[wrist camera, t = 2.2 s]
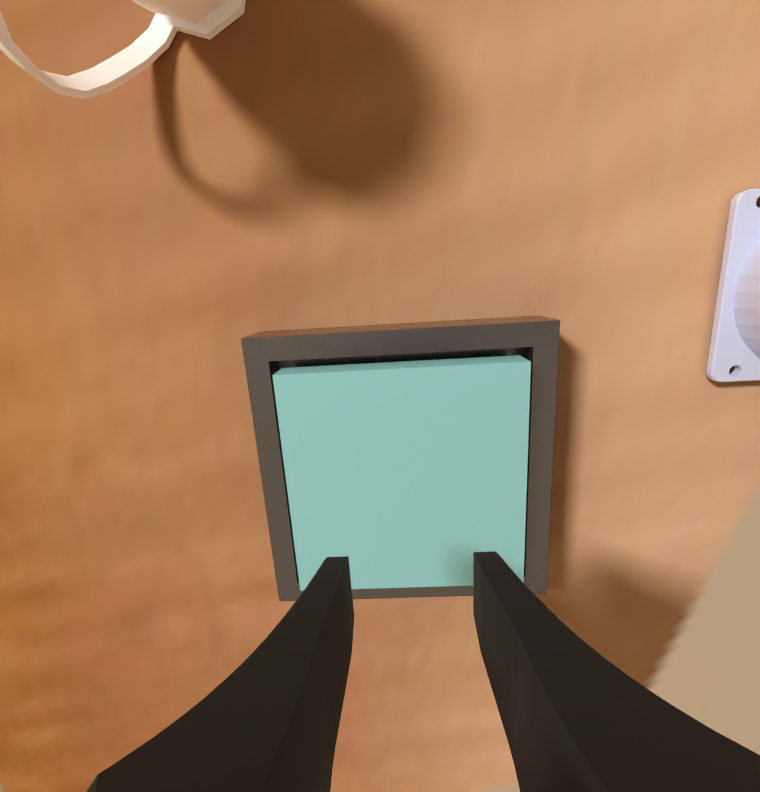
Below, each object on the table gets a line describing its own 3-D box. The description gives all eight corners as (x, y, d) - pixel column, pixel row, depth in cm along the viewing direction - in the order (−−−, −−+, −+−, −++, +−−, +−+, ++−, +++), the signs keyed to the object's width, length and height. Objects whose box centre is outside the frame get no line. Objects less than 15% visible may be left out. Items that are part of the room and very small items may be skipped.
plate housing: (538, 315, 19) (559, 320, 16) (529, 559, 22) (546, 593, 20) (260, 331, 19) (241, 338, 17) (291, 567, 23) (279, 601, 20)
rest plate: (519, 355, 17) (531, 361, 16) (513, 562, 20) (523, 584, 18) (282, 368, 18) (272, 375, 16) (306, 568, 20) (300, 590, 19)
